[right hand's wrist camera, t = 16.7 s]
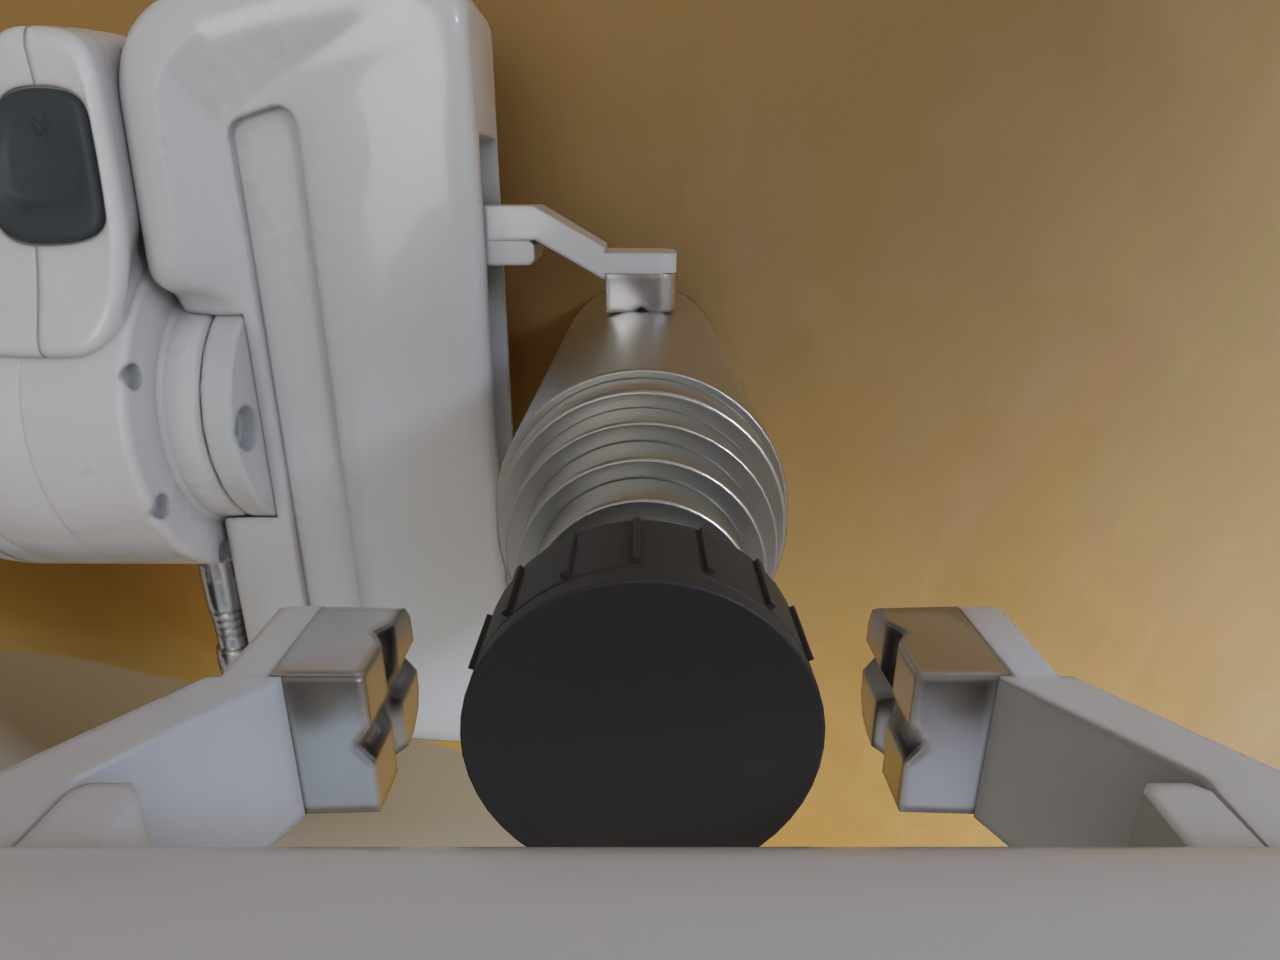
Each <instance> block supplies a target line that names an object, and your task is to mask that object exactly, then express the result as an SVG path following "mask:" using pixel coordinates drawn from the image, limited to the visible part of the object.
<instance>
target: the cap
mask: <svg viewBox="0 0 1280 960" xmlns="http://www.w3.org/2000/svg"><path fill="white" fill-rule="evenodd" d="M813 659H814V658H813V655H812V653H811V650H810V647H809V644H808V642H807V639H806V636H805V634H804V631H803V628H802V625H801V623H800V620H799V617H798V615H797V612H796V609H795V607H794V606H791V607H789V606H788V604H787V602H786V600H785V598H784V596H783V595H782V593H781V592H780V590H779V588H778V587H777V585H776V584H775V582H774V581H773V580H772V579H771V578H770V577H769V575H768V574H767V573H766V572H765V570H764V567H763V564H762V562H761V561H760V560H759V559H758V558H757V559H756V560H755V561H754V560H752V559H751V558H750V557H749V556H748V555H747V554H745V553H744V552H742V551H741V550H739V549H738V548H736V547H735V546H733V545H732V544H730V543H728V542H726V541H724V540H722V539H720V538H718V537H716V536H714V535H712V534H709V533H708V531H707V529H706V528H704V527H700V529H699V530H698V529H695V528H692V527H688V526H683V525H679V524H674V523H669V522H658V521H641V518H640V517H634V518H633V521H624V522H617V523H611V524H604V525H601V526H597V527H594V528H590V529H586V530H583V531H581V532H578V533H576V532H575V531H574V530H573V531H571V532H568V535H567V537H566V538H564V539H562V540H560V541H559V542H557V543H555V544H553V545H552V546H550V547H548V548H547V549H545V550H544V551H542V552H541V553H540V554H538V555H537V556H536V557H535V558H533V559H532V560H531V561H529V562H528V563H527V564H526V565H525V566H524V567H523V566H521V565H519V566H518V567H517V568H516V570H515V573H514V576H513V579H512V581H511V582H510V584H509V585H508V586H507V588H506V589H505V590H504V592H503V594H502V596H501V598H500V599H499V601H498V603H497V605H496V607H495V609H494V612H493V615H490V614H487V616H486V619H485V621H484V624H483V627H482V630H481V633H480V635H479V638H478V641H477V644H476V647H475V649H474V652H473V655H472V658H471V660H470V663H469V666H468V669H472V670H473V672H472V675H471V678H470V681H469V684H468V687H467V690H466V693H465V696H464V700H463V706H462V711H461V718H460V740H461V747H462V755H463V758H464V762H465V765H466V769H467V772H468V776H469V778H470V780H471V782H472V784H473V786H474V788H475V791H476V793H477V795H478V796H479V798H480V799H481V801H482V802H483V804H484V805H485V807H486V809H487V810H488V811H489V812H490V814H491V815H492V816H493V817H494V818H495V819H496V821H497V822H498V823H499V824H500V825H501V826H502V827H503V828H504V829H505V830H506V831H507V832H508V833H510V834H511V835H512V836H513V837H514V838H515V839H516V840H518V841H519V842H520V843H522V844H523V845H525V846H526V847H759V846H761V845H762V844H763V843H764V842H766V841H767V840H768V839H769V838H771V837H772V836H773V835H775V834H776V833H777V832H778V831H779V830H780V829H781V828H782V827H783V826H784V825H785V824H786V823H787V822H788V821H789V820H790V819H791V817H792V816H793V815H794V813H795V812H796V811H797V810H798V808H799V807H800V806H801V804H802V803H803V801H804V799H805V798H806V796H807V794H808V792H809V791H810V789H811V787H812V785H813V782H814V780H815V777H816V775H817V772H818V769H819V767H820V763H821V758H822V754H823V749H824V739H825V719H824V709H823V704H822V700H821V696H820V692H819V689H818V685H817V683H816V680H815V677H814V674H813V672H812V669H811V666H810V663H809V661H810V660H813Z"/></svg>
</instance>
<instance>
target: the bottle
mask: <svg viewBox="0 0 1280 960" xmlns="http://www.w3.org/2000/svg"><path fill="white" fill-rule="evenodd" d="M634 517H640V518H641V521H658V522H669V523H674V524H679V525H683V526H688V527H692V528H695V529H698V530H699V529H700V527H704V528H706V529H707V531H708V533H709V534H712V535H714V536H716V537H718V538H720V539H722V540H724V541H726V542H728V543H730V544H732V545H733V546H735V547H736V548H738V549H739V550H741V551H742V552H744V553H745V554H747V555H748V556H749V557H750V558H751V559H752V560H754V561H755V560H756V559H757V558H758V559H759V560H760V561H761V562H762V564H763V567H764V570H765V572H766V573H767V574H768V575H769V577H770V578H771V579H772V580H773V578H774V576H775V574H776V571H777V569H778V567H779V565H780V561H781V558H782V554H783V551H784V547H785V540H786V533H787V489H786V482H785V476H784V472H783V469H782V466H781V462H780V459H779V457H778V455H777V452H776V450H775V448H774V446H773V444H772V442H771V440H770V438H769V436H768V434H767V432H766V430H765V428H764V426H763V424H762V422H761V420H760V418H759V416H758V414H757V413H756V411H755V409H754V407H753V405H752V403H751V401H750V399H749V397H748V395H747V393H746V391H745V389H744V387H743V385H742V384H741V382H740V380H739V378H738V376H737V374H736V372H735V370H734V368H733V366H732V364H731V362H730V360H729V358H728V356H727V354H726V353H725V351H724V349H723V347H722V345H721V343H720V341H719V339H718V337H717V335H716V333H715V331H714V329H713V327H712V325H711V324H710V322H709V320H708V319H707V317H706V316H705V314H704V313H703V312H702V311H701V309H700V308H699V307H698V306H697V305H696V304H695V303H694V302H693V301H692V300H690V299H689V298H688V297H686V296H685V295H683V294H682V293H680V292H678V291H676V299H675V311H672V312H663V313H658V312H649V311H647V310H646V309H644V308H643V307H642V306H641V307H639V308H638V309H637V310H635V311H633V312H606V291H604V292H602V293H600V294H599V295H597V296H596V297H594V298H593V299H592V300H590V301H589V302H588V303H587V304H586V305H585V306H584V307H583V308H582V309H581V310H580V312H579V313H578V314H577V315H576V317H575V319H574V320H573V322H572V323H571V325H570V327H569V329H568V331H567V333H566V335H565V337H564V339H563V341H562V343H561V345H560V347H559V349H558V351H557V353H556V355H555V357H554V359H553V361H552V363H551V365H550V367H549V369H548V371H547V373H546V375H545V377H544V379H543V381H542V383H541V385H540V387H539V389H538V391H537V393H536V395H535V397H534V399H533V401H532V403H531V404H530V406H529V408H528V410H527V412H526V414H525V416H524V418H523V420H522V422H521V424H520V426H519V428H518V430H517V432H516V434H515V436H514V438H513V440H512V442H511V444H510V446H509V449H508V451H507V453H506V455H505V457H504V460H503V463H502V466H501V470H500V473H499V476H498V483H497V490H496V531H497V538H498V546H499V550H500V553H501V557H502V560H503V564H504V566H505V568H506V571H507V573H508V575H509V578H510V580H511V581H512V579H513V576H514V573H515V570H516V568H517V567H518V566H519V565H521V566H523V567H524V566H525V565H526V564H527V563H528V562H529V561H531V560H532V559H533V558H535V557H536V556H537V555H538V554H540V553H541V552H542V551H544V550H545V549H547V548H548V547H550V546H552V545H553V544H555V543H557V542H559V541H560V540H562V539H564V538H566V537H567V535H568V532H571V531H573V530H574V531H575V532H576V533H578V532H581V531H583V530H586V529H590V528H594V527H597V526H601V525H604V524H611V523H617V522H624V521H633V518H634Z"/></svg>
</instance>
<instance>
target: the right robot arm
mask: <svg viewBox="0 0 1280 960" xmlns="http://www.w3.org/2000/svg"><path fill="white" fill-rule="evenodd" d="M413 640H414V639H413V632H412V625H411V618H410V615H409V614H408V612H407V610H406V609H405V608H369V607H324V606H299V607H284V608H280V609H279V610H278V611H277V612H276V613H275V614H274V616H273V617H272V618H271V619H270V620H269V621H268V622H267V624H266V625H265V626H264V627H263V628H262V629H261V630H260V632H259V633H258V634H257V635H256V636H255V637H254V638H253V640H252V641H251V642H250V643H249V644H248V645H247V647H246V648H245V649H244V650H243V651H242V652H241V653H240V655H239V656H238V657H237V658H236V659H235V660H234V661H233V663H232V664H231V665H230V666H229V667H228V668H227V670H226V671H225V672H224V673H223V674H222V675H221V676H213V677H205V678H203V679H201V680H199V681H196V682H194V683H192V684H190V685H188V686H185V687H183V688H181V689H179V690H177V691H174V692H172V693H170V694H168V695H166V696H163V697H161V698H159V699H157V700H155V701H152V702H150V703H148V704H146V705H144V706H142V707H139V708H137V709H135V710H133V711H130V712H128V713H126V714H124V715H122V716H120V717H117V718H115V719H113V720H111V721H109V722H106V723H104V724H102V725H100V726H98V727H95V728H93V729H91V730H89V731H87V732H84V733H82V734H80V735H78V736H76V737H74V738H71V739H69V740H67V741H65V742H62V743H60V744H58V745H56V746H54V747H51V748H49V749H47V750H45V751H43V752H41V753H38V754H36V755H34V756H32V757H29V758H27V759H25V760H23V761H21V762H18V763H16V764H14V765H12V766H10V767H7V768H5V769H3V770H1V771H0V960H1280V771H1279V770H1276V769H1274V768H1272V767H1270V766H1268V765H1265V764H1263V763H1261V762H1259V761H1257V760H1254V759H1252V758H1250V757H1248V756H1246V755H1244V754H1241V753H1239V752H1237V751H1235V750H1233V749H1230V748H1228V747H1226V746H1224V745H1222V744H1219V743H1217V742H1215V741H1213V740H1211V739H1209V738H1206V737H1204V736H1202V735H1200V734H1198V733H1195V732H1193V731H1191V730H1189V729H1187V728H1184V727H1182V726H1180V725H1178V724H1176V723H1173V722H1171V721H1169V720H1167V719H1165V718H1163V717H1160V716H1158V715H1156V714H1154V713H1152V712H1149V711H1147V710H1145V709H1143V708H1141V707H1138V706H1136V705H1134V704H1132V703H1130V702H1127V701H1125V700H1123V699H1121V698H1119V697H1117V696H1114V695H1112V694H1110V693H1108V692H1106V691H1103V690H1101V689H1099V688H1097V687H1095V686H1092V685H1090V684H1088V683H1086V682H1084V681H1081V680H1079V679H1077V678H1075V677H1067V676H1059V675H1058V674H1057V673H1056V672H1055V671H1054V669H1053V668H1052V667H1051V666H1050V665H1049V664H1048V663H1047V661H1046V660H1045V659H1044V658H1043V657H1042V656H1041V655H1040V653H1039V652H1038V651H1037V650H1036V649H1035V648H1034V647H1033V645H1032V644H1031V643H1030V642H1029V641H1028V640H1027V638H1026V637H1025V636H1024V635H1023V634H1022V633H1021V632H1020V630H1019V629H1018V628H1017V627H1016V626H1015V625H1014V624H1013V622H1012V621H1011V620H1010V619H1009V618H1008V617H1007V615H1006V614H1005V613H1004V612H1003V611H1002V610H1001V609H1000V608H997V607H994V606H974V607H921V608H880V609H875V610H872V613H871V616H870V620H869V624H868V631H867V639H866V640H867V642H868V644H869V646H870V648H871V650H872V652H873V654H874V656H875V658H874V659H873V660H872V661H871V662H870V663H869V665H868V666H867V667H866V668H865V669H864V670H863V676H862V688H861V701H862V716H863V720H864V724H865V729H866V732H867V735H868V737H869V740H870V743H871V745H872V746H873V747H874V748H876V749H877V750H879V751H880V752H882V753H883V754H884V761H883V770H882V772H883V774H884V776H885V779H886V781H887V783H888V786H889V788H890V790H891V793H892V795H893V797H894V800H895V802H896V804H897V807H898V809H899V811H900V812H930V813H966V814H974V817H975V818H976V819H977V820H978V821H979V822H981V823H982V824H983V825H984V826H985V827H986V828H988V829H989V830H990V831H991V832H992V833H994V834H995V835H996V836H997V837H998V838H1000V839H1001V840H1002V841H1003V842H1004V843H1006V844H1007V845H1008V846H1009V847H271V846H273V845H274V844H275V843H276V842H277V841H278V840H280V839H281V838H282V837H283V836H284V835H286V834H287V833H288V832H289V831H290V830H292V829H293V828H294V827H295V826H296V825H298V824H299V823H300V822H301V821H302V820H303V819H305V818H306V815H305V814H313V813H348V812H380V811H381V809H382V807H383V805H384V802H385V800H386V798H387V795H388V793H389V791H390V788H391V786H392V783H393V781H394V779H395V776H396V774H397V772H398V769H397V761H396V754H397V753H398V752H400V751H401V750H403V749H404V748H406V747H407V746H408V745H409V743H410V740H411V737H412V735H413V732H414V730H415V725H416V719H417V713H418V707H419V684H418V674H417V670H416V669H415V668H414V667H413V666H412V664H411V663H410V662H409V661H408V660H407V659H406V658H405V657H406V655H407V652H408V650H409V648H410V646H411V644H412V642H413Z"/></svg>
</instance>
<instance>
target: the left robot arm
mask: <svg viewBox="0 0 1280 960" xmlns="http://www.w3.org/2000/svg"><path fill="white" fill-rule="evenodd" d="M544 246H546V247H548V248H550V249H551V250H553V251H555V252H557V253H558V254H560V255H562V256H564V257H565V258H567V259H569V260H570V261H572V262H574V263H576V264H577V265H579V266H581V267H583V268H584V269H586V270H588V271H590V272H591V273H593V274H595V275H597V276H598V277H600V278H602V279H604V278H605V279H606V312H633V311H635V310H637V309H638V308H639V307H641V306H642V307H643V308H644V309H646V310H647V311H649V312H658V313H663V312H672V311H675V299H676V264H677V252H676V250H675V249H667V248H608V246H607V242H605V241H603V240H602V239H600V238H598V237H597V236H595V235H593V234H592V233H590V232H588V231H587V230H585V229H583V228H582V227H580V226H578V225H577V224H575V223H573V222H572V221H570V220H568V219H567V218H565V217H563V216H562V215H560V214H558V213H557V212H555V211H553V210H552V209H550V208H548V207H547V206H545V205H543V204H501V199H500V181H499V162H498V144H497V125H496V107H495V89H494V70H493V52H492V36H491V31H490V27H489V25H488V22H487V20H486V19H485V17H484V16H483V15H482V13H481V12H480V11H479V10H478V8H477V7H476V6H475V4H474V3H473V2H472V1H471V0H156V1H155V2H153V3H152V4H151V5H150V6H148V7H147V8H146V9H145V10H144V11H143V12H142V13H141V14H140V15H139V17H138V18H137V19H136V21H135V22H134V23H133V25H132V27H131V28H130V30H129V32H128V34H127V36H124V35H120V34H116V33H110V32H104V31H98V30H91V29H84V28H74V27H60V26H38V25H26V26H17V27H12V28H9V29H6V30H4V31H2V32H1V33H0V558H2V559H6V560H10V561H17V562H27V563H41V564H45V563H49V564H72V563H73V564H198V569H199V574H200V578H201V583H202V588H203V592H204V597H205V601H206V604H207V607H208V610H209V613H210V615H211V618H212V621H213V624H214V626H215V631H216V634H217V640H218V644H217V647H216V649H217V659H218V663H219V667H220V670H221V672H222V674H223V673H224V672H225V671H226V670H227V668H228V667H229V666H230V665H231V664H232V663H233V661H234V660H235V659H236V658H237V657H238V656H239V655H240V653H241V652H242V651H243V650H244V649H245V648H246V647H247V645H248V644H249V643H250V642H251V641H252V640H253V638H254V637H255V636H256V635H257V634H258V633H259V632H260V630H261V629H262V628H263V627H264V626H265V625H266V624H267V622H268V621H269V620H270V619H271V618H272V617H273V616H274V614H275V613H276V612H277V611H278V610H279V609H280V608H284V607H299V606H324V607H369V608H405V609H406V610H407V612H408V614H409V615H410V618H411V625H412V632H413V639H414V640H413V642H412V644H411V646H410V648H409V650H408V652H407V655H406V657H405V658H406V659H407V660H408V661H409V662H410V663H411V664H412V666H413V667H414V668H415V669H416V670H417V674H418V684H419V707H418V713H417V719H416V725H415V730H414V732H413V735H412V737H411V739H423V740H436V741H454V742H461V740H460V718H461V711H462V706H463V700H464V696H465V693H466V690H467V687H468V684H469V681H470V678H471V675H472V672H473V670H472V669H468V666H469V663H470V660H471V658H472V655H473V652H474V649H475V647H476V644H477V641H478V638H479V635H480V633H481V630H482V627H483V624H484V621H485V619H486V616H487V614H490V615H493V612H494V609H495V607H496V605H497V603H498V601H499V599H500V598H501V596H502V594H503V592H504V590H505V589H506V588H507V586H508V585H509V584H510V582H511V580H510V578H509V575H508V573H507V571H506V568H505V566H504V564H503V560H502V557H501V553H500V550H499V546H498V538H497V531H496V490H497V483H498V476H499V473H500V470H501V466H502V463H503V460H504V457H505V455H506V453H507V451H508V449H509V446H510V444H511V442H512V440H513V421H512V402H511V384H510V365H509V347H508V328H507V310H506V291H505V273H504V265H531V264H532V263H534V262H535V261H536V260H538V259H539V258H540V257H541V256H542V255H543V254H544Z"/></svg>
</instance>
